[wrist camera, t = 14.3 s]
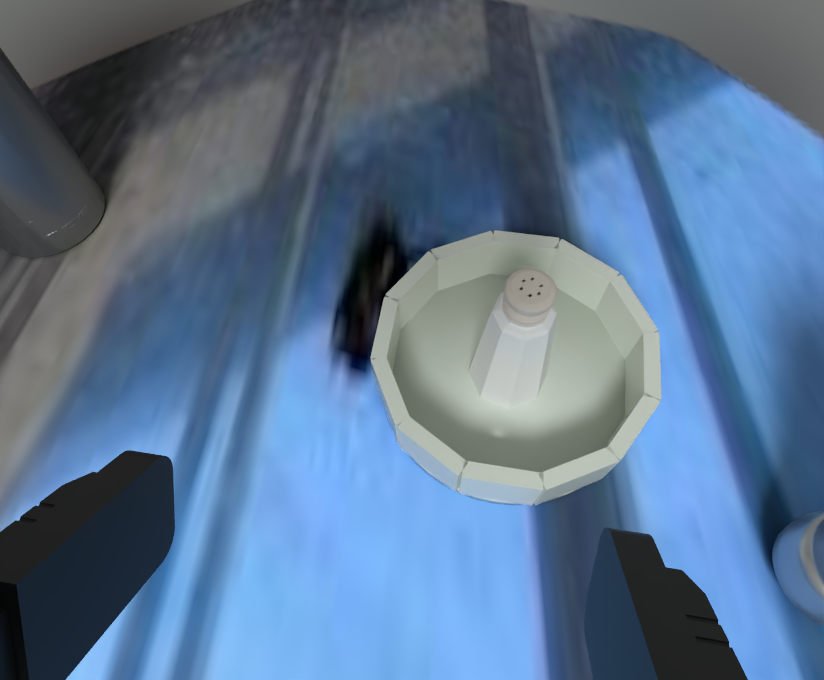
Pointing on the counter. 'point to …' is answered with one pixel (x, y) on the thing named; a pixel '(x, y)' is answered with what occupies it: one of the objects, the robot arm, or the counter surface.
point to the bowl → (563, 385)
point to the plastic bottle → (802, 563)
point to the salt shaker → (516, 340)
